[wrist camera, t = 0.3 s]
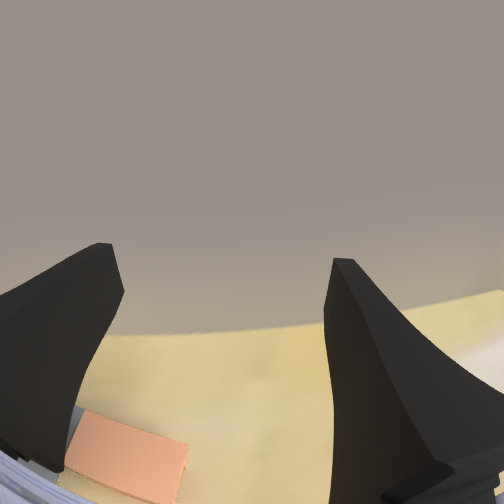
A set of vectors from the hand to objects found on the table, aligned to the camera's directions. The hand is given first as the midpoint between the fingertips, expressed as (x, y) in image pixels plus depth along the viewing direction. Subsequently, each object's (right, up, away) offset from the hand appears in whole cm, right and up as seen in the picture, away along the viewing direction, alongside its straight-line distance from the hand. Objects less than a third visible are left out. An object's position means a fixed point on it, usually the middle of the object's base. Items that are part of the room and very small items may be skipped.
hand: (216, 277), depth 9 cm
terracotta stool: (-8, -18, +9) cm, 21 cm away
